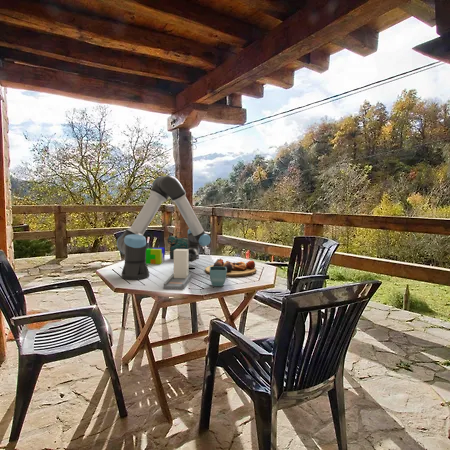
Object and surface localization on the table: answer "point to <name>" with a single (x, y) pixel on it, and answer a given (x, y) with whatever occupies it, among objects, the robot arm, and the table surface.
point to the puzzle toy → (155, 255)
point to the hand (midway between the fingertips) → (183, 261)
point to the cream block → (181, 263)
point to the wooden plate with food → (234, 268)
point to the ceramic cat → (177, 244)
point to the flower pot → (218, 275)
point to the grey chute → (177, 282)
